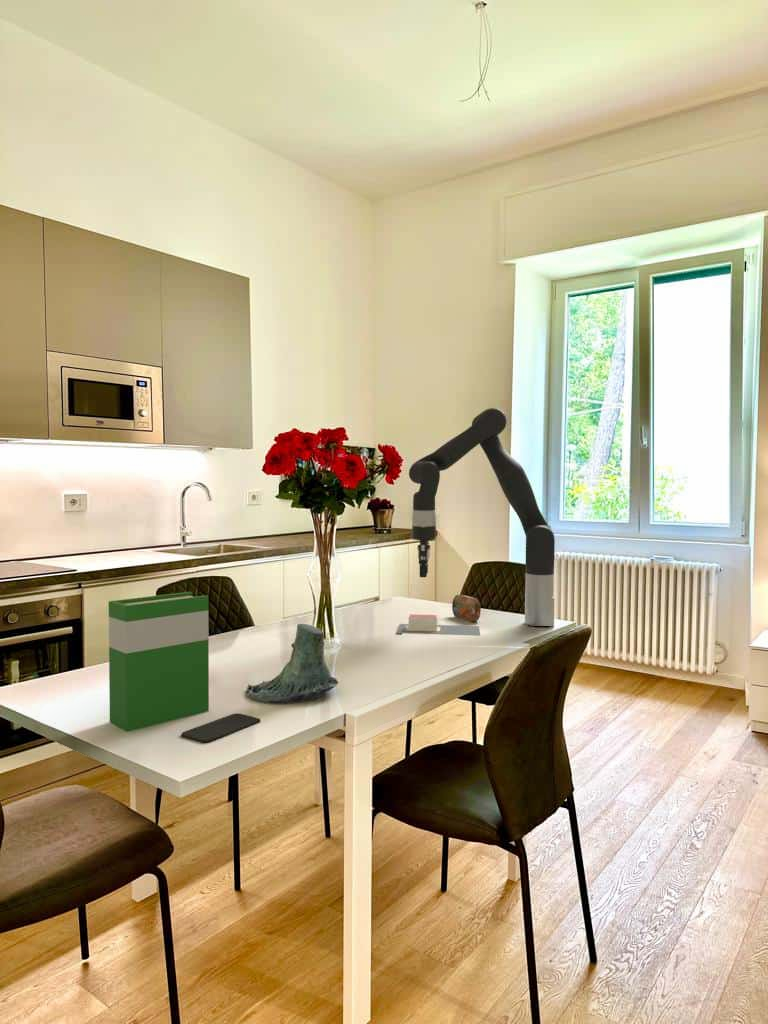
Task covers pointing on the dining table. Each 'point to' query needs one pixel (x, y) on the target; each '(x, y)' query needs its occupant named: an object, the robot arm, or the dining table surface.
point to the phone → (220, 728)
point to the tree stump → (298, 672)
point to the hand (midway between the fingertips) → (423, 575)
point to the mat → (442, 630)
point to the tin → (466, 608)
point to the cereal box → (158, 659)
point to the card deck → (423, 622)
